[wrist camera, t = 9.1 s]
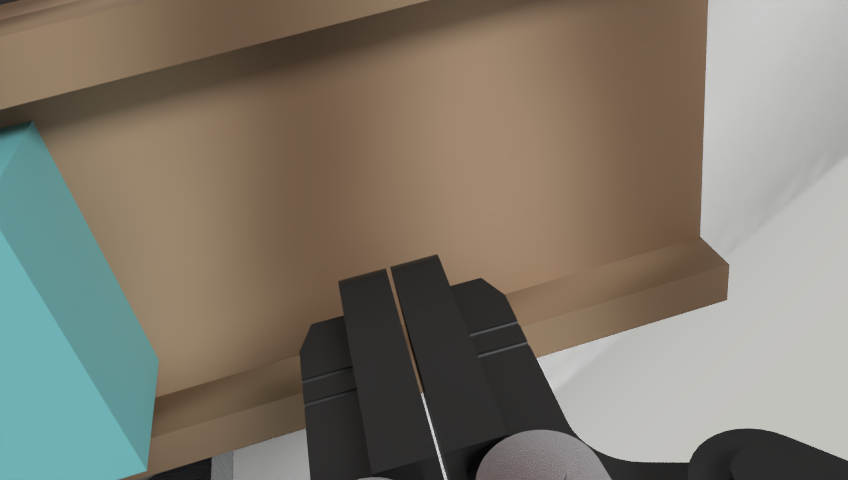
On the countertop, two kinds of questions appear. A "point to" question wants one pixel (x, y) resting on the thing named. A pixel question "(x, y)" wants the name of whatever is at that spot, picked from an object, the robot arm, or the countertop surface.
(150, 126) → the beam
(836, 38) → the countertop surface
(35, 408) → the teal block
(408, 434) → the robot arm
